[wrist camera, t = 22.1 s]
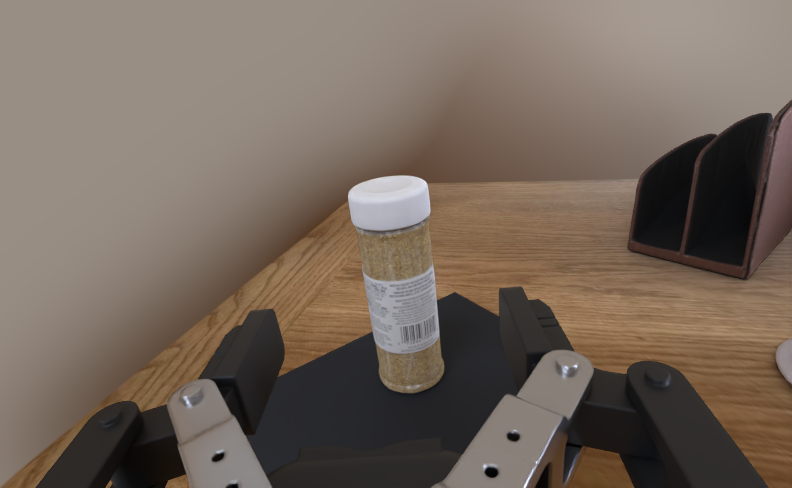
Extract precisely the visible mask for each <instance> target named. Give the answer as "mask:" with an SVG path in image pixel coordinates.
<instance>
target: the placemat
mask: <svg viewBox="0 0 792 488" xmlns="http://www.w3.org/2000/svg"><path fill="white" fill-rule="evenodd" d="M437 310H438V322H439V335H440V346H441V357H442V359H443V362H444V372H443V375H442V377H441V379H440V380H439V381H438V382H437V383H436V384H435V385H434V386H432V387H431V388H429V389H427V390H424V391H421V392H418V393H401V392H397V391H393V390H391V389H389V388H388V387H387V386H385V385H384V384H383V382H382V380H381V379H380V375H379V366H380V365H379V360H378V354H377V347H376V342H375V340H374V336H373V332H371V333H369V334H367V335H365V336H363V337H361V338H359V339H356V340H354V341H352V342H350V343H348V344H346V345H344V346H342V347H340V348H338V349H336V350H334V351H331V352H329V353H327V354H325V355H323V356H321V357H319V358H317V359H315V360H313V361H311V362H309V363H307V364H304V365H302V366H300V367H298V368H296V369H294V370H292V371H290V372H288V373H286V374H284V375H282V376H279V377H277V379H276V382H275V384H274V387H273V389H272V392H271V394H270V397H269V400H268V402H267V405H266V407H265V410H264V412H263V415H262V418H261V420H260V423H259V425H258V428H257V430H256V433H255V435H246V436H247V438H248V440H249V442H250V444H251V447H252V449H253V451H254V453H255V455H256V458H257V459H258V461H259V463H260V465H261V467H262V469H263V471H264V473H265V475H268V474H269V473H270V472H272V471H274V470H275V469H277V468H279V467H281V466H282V465H284V464H287V463H289V462H292V461H295V460H297V457H298V453H299V449H300V448H303V447H317V446H332V445H335V446H341V447H347V448H353V449H360V450H366V451H371V450H375V449H378V448H382V447H385V446H388V445H392V444H395V443H399V442H402V441H406V440H418V439H432V438H442V446H443V450H449V451H453V452H456V453H459V454H462V455H463V453H464V452H465V450H466V449H467V447H468V446H469V445H470V443H471V442H472V440H473V439H474V438H475V436H476V435H477V433H478V432H479V431H480V429H481V428H482V426H483V425H484V423H485V422H486V421H487V419H488V418H489V416H490V415H491V414H492V412H493V411H494V409H495V408H496V407H497V405H498V404H499V402H500V401H501V399H502V398H503V397H504V396H505V395H506V394H508V393H509V394H512V395H514V396H516V395H517V394H518V390H517V387H516V384H515V381H514V378H513V375H512V372H511V369H510V366H509V362H508V359H507V356H506V353H505V350H504V347H503V344H502V340H501V335H500V321H499V316H497V315H495V314H493V313H491V312H490V311H488V310H486V309H484V308H482V307H481V306H479V305H477V304H475V303H473V302H472V301H470V300H468V299H466V298H464V297H463V296H461V295H459V294H457V293H455V292H454V293H452V294H450V295H448V296H446V297H444V298H442V299H440V300H438V301H437Z"/></svg>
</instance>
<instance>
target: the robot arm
mask: <svg viewBox="0 0 792 488" xmlns="http://www.w3.org/2000/svg"><path fill="white" fill-rule="evenodd" d="M499 321H500V335H501V340H502V344H503V347H504V350H505V353H506V356H507V359H508V362H509V366H510V369H511V372H512V375H513V378H514V381H515V384H516V387H517V390H518V394H517V395H516V396H514V395H512V394H509V393H508V394H506V395H505V396H504V397H503V398H502V399H501V401H500V402H499V404H498V405H497V407H496V408H495V409H494V411H493V412H492V414H491V415H490V416H489V418H488V419H487V421H486V422H485V423H484V425H483V426H482V428H481V429H480V431H479V432H478V433H477V435H476V436H475V438H474V439H473V440H472V442H471V443H470V445H469V446H468V447H467V449H466V450H465V452H464V453H463V455H462V454H459V453H456V452H453V451H449V450H443V446H442V438H432V439H418V440H406V441H402V442H399V443H395V444H392V445H388V446H385V447H382V448H378V449H375V450H371V451H366V450H360V449H353V448H347V447H341V446H335V445H332V446H317V447H303V448H300V449H299V453H298V457H297V460H295V461H292V462H289V463H287V464H284V465H282V466H281V467H279V468H277V469H275V470H274V471H272V472H270V473H269V474H268V475H265V473H264V471H263V469H262V467H261V465H260V463H259V461H258V459H257V458H256V456H255V454H254V452H253V450H252V448H251V446H250V444H249V442H248V440H247V438H246V437H245V435H255V433H256V430H257V428H258V425H259V423H260V420H261V418H262V415H263V412H264V410H265V407H266V405H267V402H268V400H269V397H270V394H271V392H272V389H273V387H274V384H275V382H276V379H277V377H278V374H279V371H280V369H281V366H282V364H283V361H284V354H285V351H284V343H283V339H282V336H281V332H280V329H279V325H278V321H277V318H276V314H275V312H274V310H273V309H264V310H253V311H250V312H249V314H248V316H247V317H246V319H245V321H244V322H243V324H242V325H239V326H236V327H235V328H234V329H232V330H231V331H230V332H229V333H228V334H226V335H225V337H224V339H223V340H222V342H221V343H220V347H218V348H217V350H216V351H215V355H213V356H212V358H211V359H210V361H209V362H208V364H207V366H206V367H205V369H204V370H203V372H202V374H201V375H200V377H199V378H198V380H195V381H191V382H189V383H187V384H185V385H183V386H181V387H180V388H178V389H177V390H176V391H175V392H174V393H173V394H172V395H171V396H170V397H169V399H168V401H167V404H166V405H163V406H160V407H157V408H153V409H150V410H147V411H144V412H140V410H139V408H138V406H137V404H136V403H134V402H132V401H122V402H118V403H115V404H112V405H110V406H107V407H105V408H104V409H102V410H100V411H99V412H97V413H96V414H95V415H93V416H92V417H91V418H90V419H89V420H88V422H87V423H86V424H85V425H84V427H83V428H82V429H81V430H80V432H79V433H78V434H77V435H76V437H75V438H74V439H73V441H72V442H71V443H70V444H69V446H68V447H67V448H66V450H65V451H64V452H63V453H62V455H61V456H60V457H59V458H58V460H57V461H56V462H55V464H54V465H53V466H52V467H51V469H50V470H49V471H48V472H47V474H46V475H45V476H44V478H43V479H42V480H41V481H40V483H39V484H38V485H37V486H36V488H105V487H106V485H107V484H108V482H109V481H110V479H111V481H112V483H113V484H112V485H111V487H110V488H165V486H166V484H167V482H168V480H171V479H173V478H176V477H179V476H182V475H185V474H187V477H188V481H189V484H190V487H191V488H569V486H570V483H571V481H572V479H573V477H574V474H575V472H576V470H577V468H578V465H579V463H580V461H581V458H582V456H583V454H584V452H585V449H586V447H590V448H595V449H600V450H605V451H610V452H615V453H619V455H620V457H621V459H622V461H623V463H624V466H625V468H626V470H627V472H628V474H629V477H630V479H631V481H632V483H633V485H634V488H769V487H768V486H767V485H766V483H765V482H764V481H763V479H762V478H761V477H760V475H759V474H758V473H757V471H756V470H755V469H754V467H753V466H752V465H751V464H750V462H749V461H748V460H747V458H746V457H745V456H744V454H743V453H742V452H741V450H740V449H739V448H738V446H737V445H736V444H735V442H734V441H733V440H732V438H731V437H730V436H729V434H728V433H727V432H726V431H725V429H724V428H723V427H722V425H721V424H720V423H719V421H718V420H717V419H716V417H715V416H714V415H713V413H712V412H711V411H710V409H709V408H708V407H707V405H706V404H705V403H704V401H703V400H702V399H701V397H700V396H699V395H698V394H697V392H696V391H695V390H694V388H693V387H692V386H691V384H690V383H689V382H688V380H687V379H686V378H685V377H684V375H683V374H682V373H680V372H679V371H678V370H676V369H675V368H673V367H671V366H668V365H666V364H663V363H659V362H654V361H640V362H636V363H634V364H632V365H631V366H630V367H629V368H628V370H627V374H621V373H614V372H607V371H602V370H599V369H596V368H593V365H592V363H591V362H590V361H589V360H588V359H587V358H586V357H585V356H583V355H581V354H579V353H577V352H575V351H574V349H573V348H572V346H571V344H570V342H569V341H568V339H567V337H566V335H565V333H564V332H563V330H562V328H561V326H559V323H558V321H557V319H556V318H555V316H554V314H553V312H552V310H551V308H550V307H549V306H548V305H546V304H545V303H543V302H542V301H541V300H539V299H536V300H528V299H527V296H526V294H525V292H524V290H523V288H522V287H510V288H500V289H499Z"/></svg>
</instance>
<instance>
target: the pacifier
mask: <svg viewBox="0 0 792 488" xmlns="http://www.w3.org/2000/svg"><path fill="white" fill-rule="evenodd" d="M775 355H776V363H777V365H778V368H779V370H780V372H781V373H782V374H783V376H784V377H785V378H786V380H787V381H788V382H789V383H790V384H792V338H791V339H789V340H786V341H784V342H783V343H782V344H781V345H779V346H778V348H777V350H776V353H775Z"/></svg>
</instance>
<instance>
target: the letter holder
mask: <svg viewBox="0 0 792 488" xmlns="http://www.w3.org/2000/svg"><path fill="white" fill-rule="evenodd" d="M791 228H792V100H791V101H790V102H789V103H788V104H786V106H784V108H783V109H781V110H780V111H779V113H778V114H777V115H776V116H775V118H774V119H773V118H772V114H771V113H760V114H755V115H752V116H749V117H747V118H745V119H743V120H740V121H738V122H737V123H735V124H733V125H732V126H730V127H729V128H727V129H726V130H724V131H723V132H722V133H721V134H719V135H718V136H717V135H716V134H707V135H704V136H700V137H697V138H695V139H692V140H690V141H688V142H686V143H684V144H682V145H680V146H678V147H676V148H674V149H673V150H671V151H670V152H668V153H667V154H665V155H664V156H662V157H661V158H659V159H658V160H656V161H655V162H654V163H653V164H652V165H650V166H649V167H648V168H647V169H646V170H645V171H644V172H643V174H642V175H641V177H640V179H639V181H638V185H637V189H636V197H635V203H634V209H633V215H632V221H631V229H630V235H629V242H628V250H630V251H634V252H638V253H642V254H646V255H649V256H653V257H657V258H661V259H665V260H669V261H673V262H677V263H681V264H685V265H688V266H693V267H696V268H700V269H704V270H708V271H712V272H716V273H720V274H724V275H729V276H733V277H736V278H739V279H748V278H749V277H750V276H751V275H752V274H753V272H754V271H755V270H756V268H757V267H758V266H759V265H760V264H761V262H762V261H763V260H764V259H765V258H766V257H767V255H769V253H770V252H771V251H772V250H773V249H774V248H775V247H776V246H777V244H779V242H780V241H781V240H782V239H783V238H784V236H785V235H786V234H787V233H788V232H789V231H790V230H791Z"/></svg>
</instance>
